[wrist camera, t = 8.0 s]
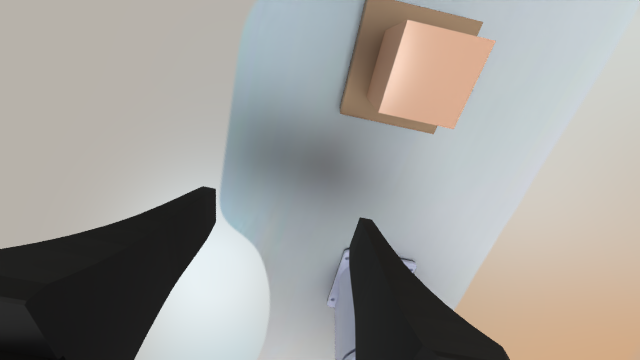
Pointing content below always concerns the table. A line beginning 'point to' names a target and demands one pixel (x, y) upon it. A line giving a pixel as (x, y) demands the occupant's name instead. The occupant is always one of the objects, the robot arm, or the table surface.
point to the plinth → (373, 24)
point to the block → (426, 72)
